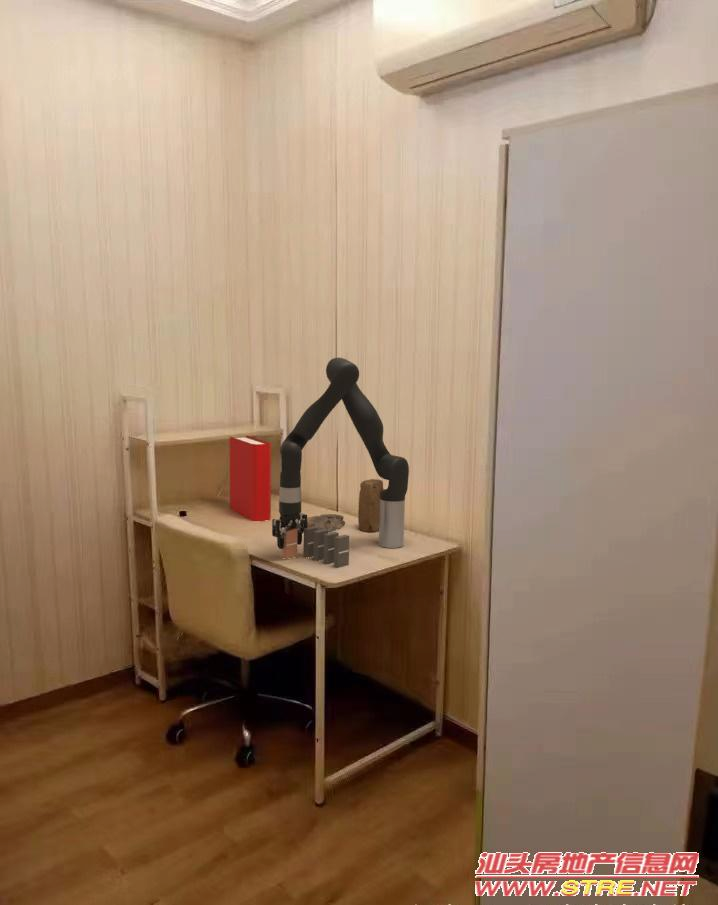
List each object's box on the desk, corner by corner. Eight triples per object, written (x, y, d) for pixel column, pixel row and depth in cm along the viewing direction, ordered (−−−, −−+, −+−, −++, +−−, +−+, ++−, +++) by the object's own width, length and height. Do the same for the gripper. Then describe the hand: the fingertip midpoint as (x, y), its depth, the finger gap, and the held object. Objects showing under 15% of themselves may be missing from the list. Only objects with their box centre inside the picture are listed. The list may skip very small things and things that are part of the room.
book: (229, 508, 322) (229, 436, 317) (247, 506, 326) (246, 435, 321) (254, 522, 299) (253, 444, 294) (272, 520, 303) (272, 443, 298)
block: (370, 533, 285) (371, 483, 282) (356, 530, 290) (357, 480, 287) (388, 528, 293) (389, 479, 290) (374, 525, 298) (375, 477, 295)
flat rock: (329, 520, 306) (294, 528, 291) (330, 509, 305) (295, 516, 290) (354, 527, 297) (320, 535, 282) (355, 515, 296) (321, 523, 281)
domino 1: (282, 558, 250) (282, 530, 249) (293, 555, 254) (293, 527, 252) (286, 559, 249) (286, 531, 247) (297, 557, 252) (297, 528, 251)
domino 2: (303, 556, 253) (303, 528, 251) (313, 553, 256) (314, 526, 255) (307, 558, 251) (307, 529, 250) (318, 555, 255) (318, 527, 254)
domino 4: (323, 563, 246) (323, 534, 245) (333, 560, 250) (334, 531, 248) (327, 564, 245) (328, 535, 243) (338, 561, 248) (338, 532, 247)
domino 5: (333, 566, 243) (334, 537, 241) (344, 563, 246) (344, 534, 245) (338, 567, 241) (338, 538, 240) (348, 564, 245) (349, 535, 243)
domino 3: (313, 559, 250) (313, 531, 248) (323, 556, 253) (324, 528, 252) (317, 561, 248) (317, 532, 247) (327, 558, 252) (328, 530, 250)
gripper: (281, 504, 240) (281, 552, 243) (313, 498, 251) (312, 544, 253) (266, 500, 246) (266, 548, 248) (298, 494, 256) (298, 540, 258)
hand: (289, 546), depth 251 cm, fingers open, 7 cm apart
